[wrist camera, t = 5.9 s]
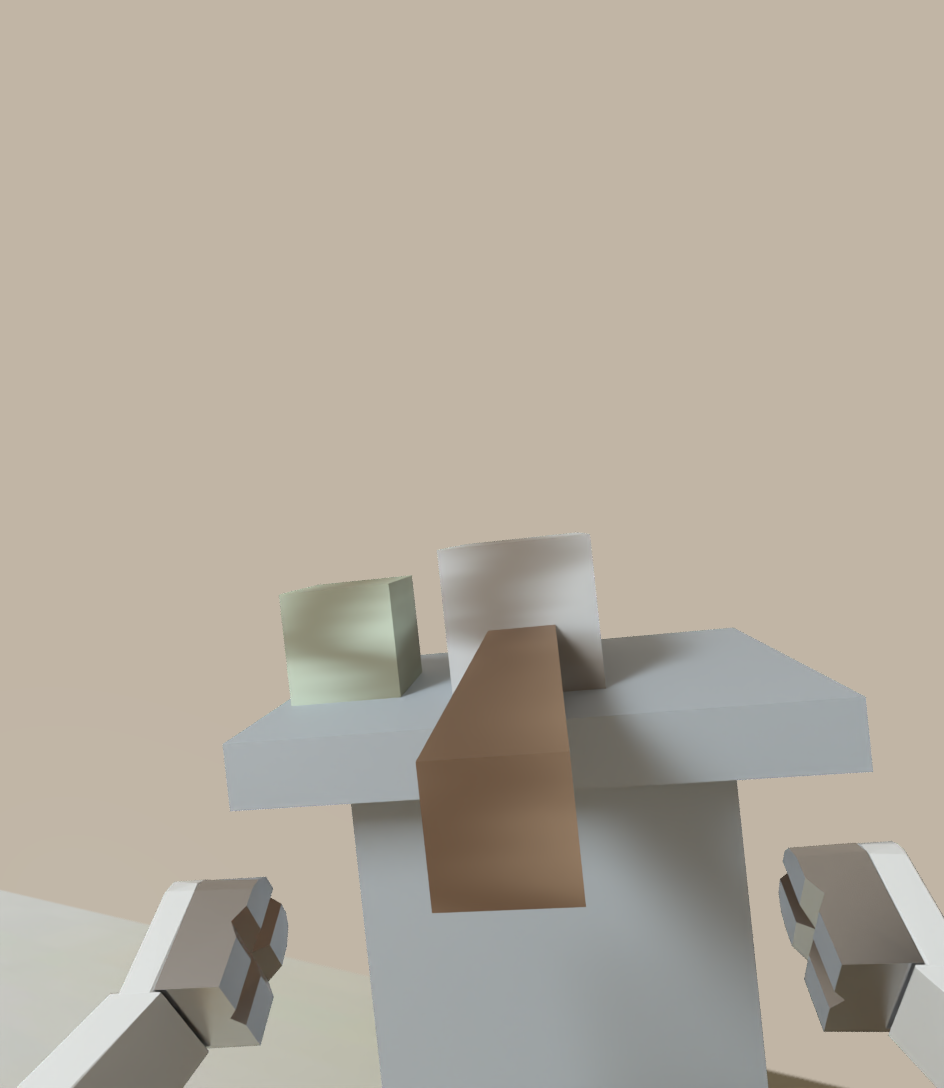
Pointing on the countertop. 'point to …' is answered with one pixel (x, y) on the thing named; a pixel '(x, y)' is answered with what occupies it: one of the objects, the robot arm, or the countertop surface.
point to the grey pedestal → (607, 865)
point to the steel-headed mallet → (509, 725)
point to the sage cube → (351, 641)
